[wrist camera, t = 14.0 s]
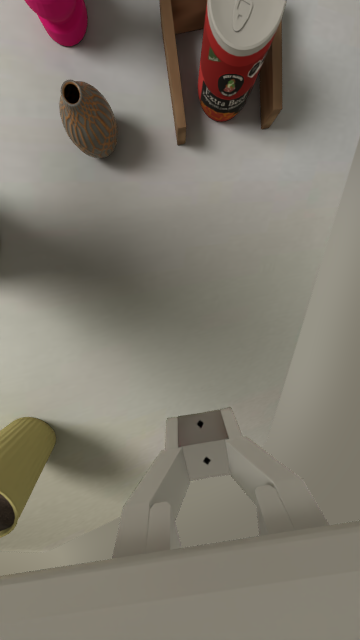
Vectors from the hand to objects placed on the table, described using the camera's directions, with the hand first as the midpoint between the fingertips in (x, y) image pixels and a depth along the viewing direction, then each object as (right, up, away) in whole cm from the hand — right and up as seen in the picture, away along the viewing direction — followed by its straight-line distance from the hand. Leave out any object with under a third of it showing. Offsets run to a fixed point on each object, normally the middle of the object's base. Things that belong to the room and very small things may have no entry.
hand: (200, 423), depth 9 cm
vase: (-13, +33, +22) cm, 42 cm away
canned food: (+5, +39, +20) cm, 44 cm away
